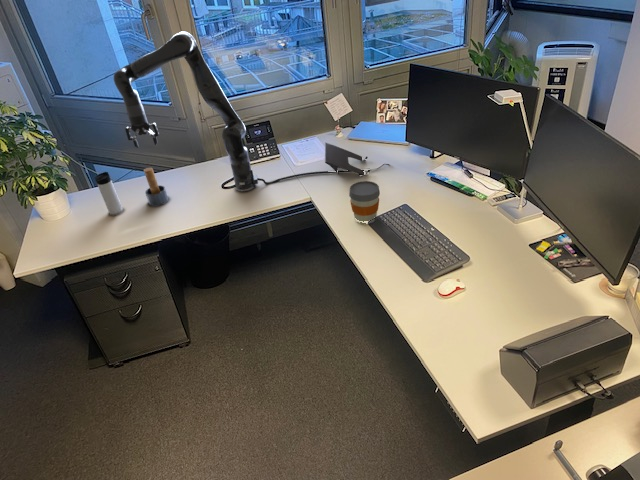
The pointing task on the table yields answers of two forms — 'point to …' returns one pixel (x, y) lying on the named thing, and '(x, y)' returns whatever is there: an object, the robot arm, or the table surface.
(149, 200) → the pen cup
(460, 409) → the table surface
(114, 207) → the travel mug
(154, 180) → the wooden rod
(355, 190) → the reusable coffee cup
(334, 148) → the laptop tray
